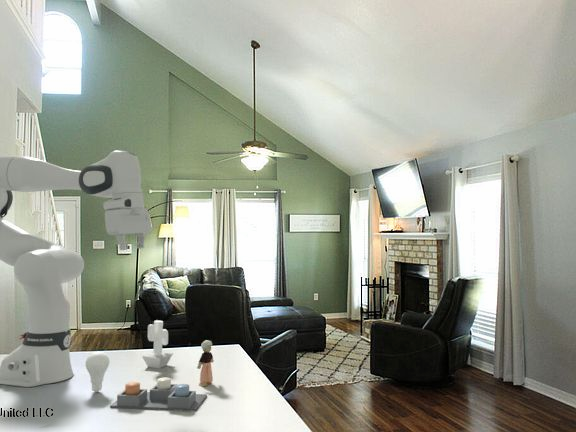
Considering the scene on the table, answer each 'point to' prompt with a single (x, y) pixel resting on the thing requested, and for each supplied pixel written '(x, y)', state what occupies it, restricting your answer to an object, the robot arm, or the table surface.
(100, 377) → the lightbulb
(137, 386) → the rust button
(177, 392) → the slate button
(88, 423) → the table surface
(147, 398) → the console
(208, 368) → the grandmother figurine
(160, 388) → the cream button
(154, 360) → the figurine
